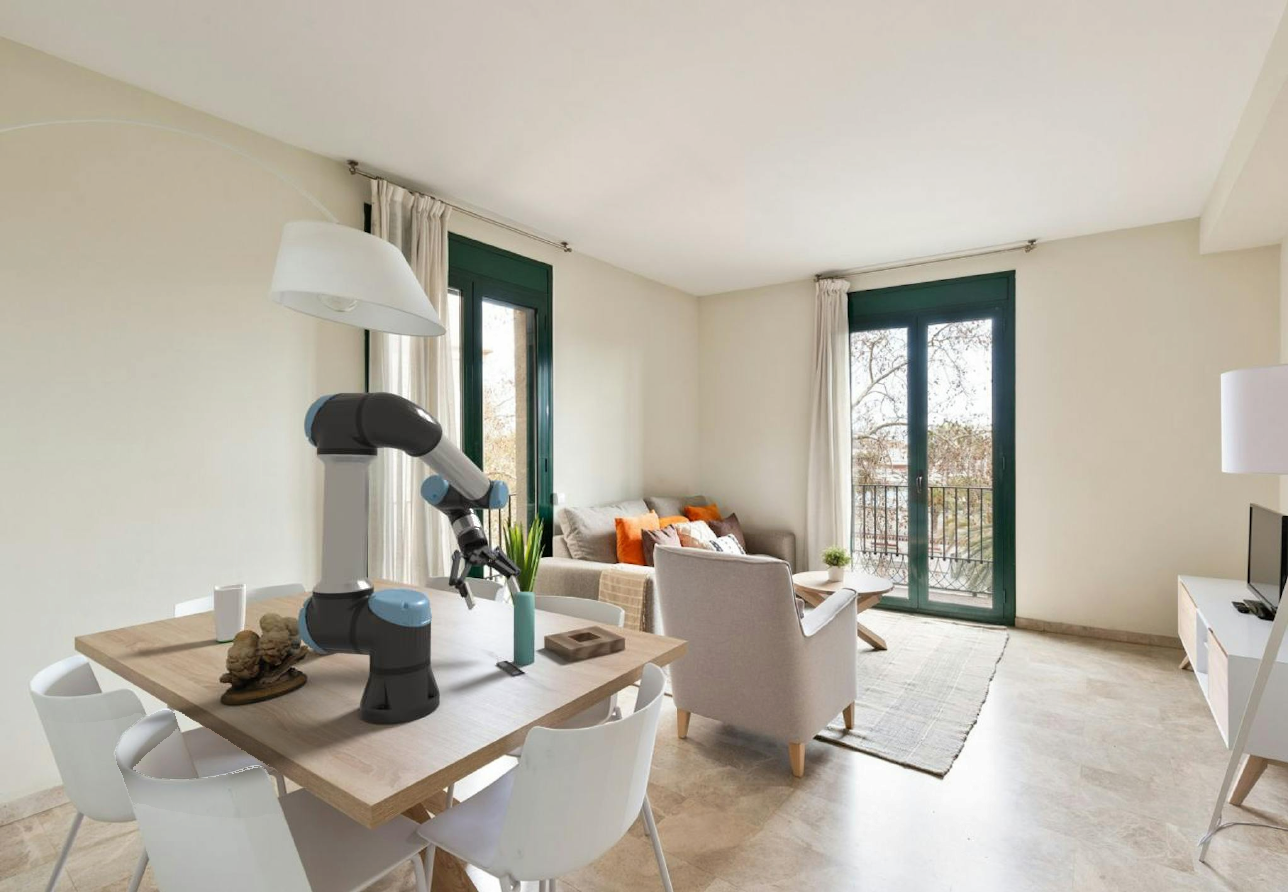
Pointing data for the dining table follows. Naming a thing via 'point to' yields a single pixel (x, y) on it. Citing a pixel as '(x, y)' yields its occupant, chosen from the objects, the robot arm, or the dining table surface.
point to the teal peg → (524, 628)
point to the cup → (229, 610)
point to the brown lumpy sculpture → (264, 662)
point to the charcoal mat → (510, 668)
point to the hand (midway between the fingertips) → (496, 603)
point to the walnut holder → (584, 643)
